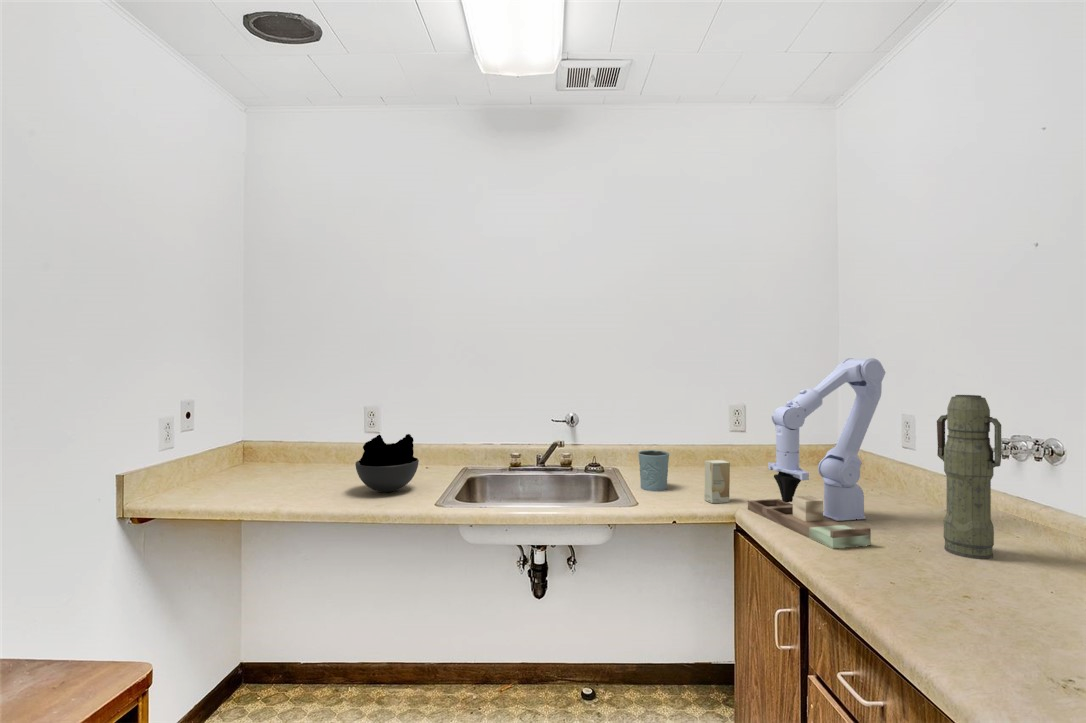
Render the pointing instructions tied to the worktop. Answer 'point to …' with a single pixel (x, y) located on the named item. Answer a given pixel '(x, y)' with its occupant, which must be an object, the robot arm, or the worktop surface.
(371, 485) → the bowl of black rocks
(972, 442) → the thermos
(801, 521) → the track
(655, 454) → the teal embossed cup
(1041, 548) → the worktop surface
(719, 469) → the skincare box
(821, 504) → the maple block
